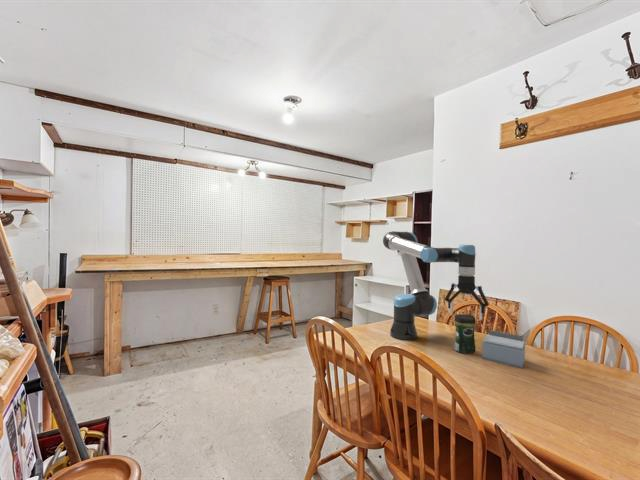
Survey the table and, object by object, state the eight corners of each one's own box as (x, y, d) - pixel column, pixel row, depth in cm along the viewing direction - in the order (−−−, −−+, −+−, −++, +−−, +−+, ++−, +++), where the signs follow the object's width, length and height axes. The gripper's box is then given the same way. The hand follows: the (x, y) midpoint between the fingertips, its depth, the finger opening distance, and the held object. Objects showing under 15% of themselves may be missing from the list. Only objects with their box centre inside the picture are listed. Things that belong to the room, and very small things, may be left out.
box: (481, 358, 146) (482, 342, 145) (486, 351, 155) (487, 335, 155) (522, 368, 136) (522, 350, 136) (524, 360, 145) (525, 343, 145)
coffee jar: (469, 348, 159) (471, 312, 159) (477, 354, 151) (478, 316, 151) (451, 348, 159) (452, 312, 159) (458, 353, 151) (459, 316, 151)
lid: (483, 341, 146) (483, 335, 146) (487, 335, 155) (487, 329, 155) (522, 349, 136) (522, 342, 136) (524, 342, 145) (524, 336, 145)
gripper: (438, 273, 159) (438, 314, 159) (493, 278, 144) (492, 323, 144) (443, 272, 165) (442, 312, 165) (496, 276, 150) (495, 320, 150)
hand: (465, 317), depth 154 cm, fingers open, 13 cm apart
